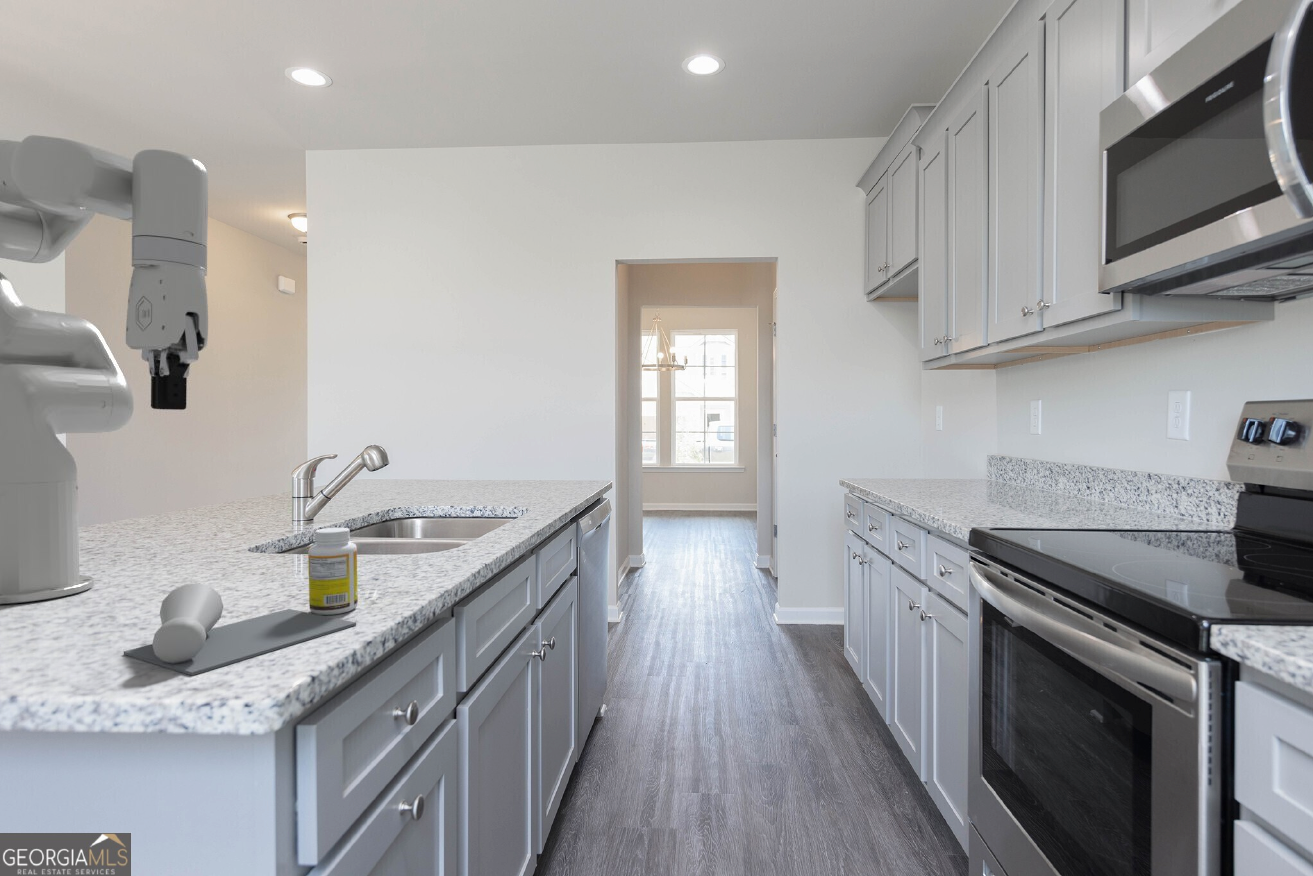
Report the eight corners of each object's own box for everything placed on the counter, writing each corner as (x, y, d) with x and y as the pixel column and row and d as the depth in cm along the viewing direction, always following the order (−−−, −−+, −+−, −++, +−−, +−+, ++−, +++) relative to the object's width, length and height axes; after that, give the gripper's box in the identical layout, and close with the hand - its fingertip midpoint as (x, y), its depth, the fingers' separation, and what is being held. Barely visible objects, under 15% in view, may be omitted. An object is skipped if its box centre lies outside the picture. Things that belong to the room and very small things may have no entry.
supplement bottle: (334, 602, 91) (333, 525, 90) (367, 606, 88) (366, 527, 88) (298, 613, 85) (297, 531, 85) (332, 618, 83) (331, 534, 83)
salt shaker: (199, 637, 78) (182, 685, 67) (151, 610, 76) (124, 656, 64) (237, 594, 80) (226, 635, 68) (190, 567, 77) (171, 604, 66)
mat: (123, 654, 71) (123, 651, 71) (289, 611, 86) (289, 608, 86) (192, 675, 65) (192, 672, 65) (356, 625, 80) (356, 622, 80)
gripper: (103, 256, 84) (102, 406, 85) (169, 247, 77) (167, 411, 78) (171, 268, 91) (169, 407, 92) (237, 261, 84) (235, 412, 84)
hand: (168, 408), depth 85 cm, fingers closed
